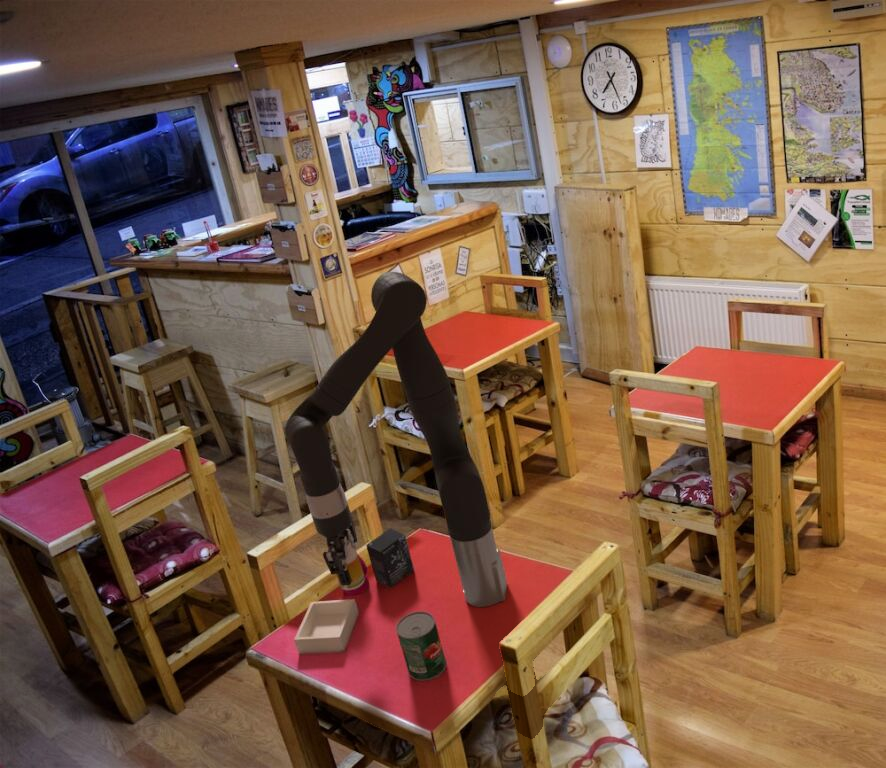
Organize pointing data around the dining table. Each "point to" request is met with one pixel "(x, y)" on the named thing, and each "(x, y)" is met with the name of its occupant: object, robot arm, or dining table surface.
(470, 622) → the dining table surface
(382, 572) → the box
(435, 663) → the canned tomato
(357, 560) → the supplement bottle
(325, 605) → the tub
